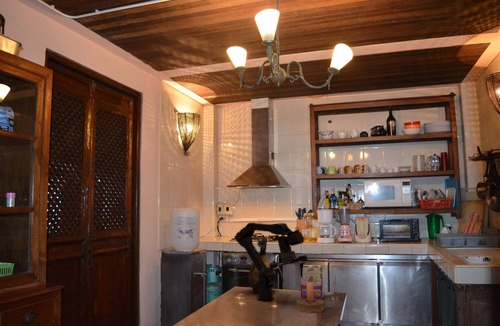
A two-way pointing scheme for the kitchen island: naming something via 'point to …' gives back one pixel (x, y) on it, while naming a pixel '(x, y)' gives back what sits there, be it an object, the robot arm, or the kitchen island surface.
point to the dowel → (310, 292)
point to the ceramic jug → (253, 271)
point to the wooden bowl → (310, 306)
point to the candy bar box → (312, 280)
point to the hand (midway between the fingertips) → (292, 280)
